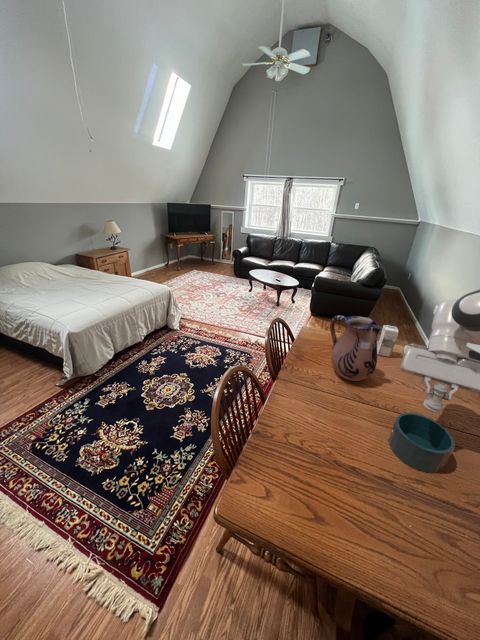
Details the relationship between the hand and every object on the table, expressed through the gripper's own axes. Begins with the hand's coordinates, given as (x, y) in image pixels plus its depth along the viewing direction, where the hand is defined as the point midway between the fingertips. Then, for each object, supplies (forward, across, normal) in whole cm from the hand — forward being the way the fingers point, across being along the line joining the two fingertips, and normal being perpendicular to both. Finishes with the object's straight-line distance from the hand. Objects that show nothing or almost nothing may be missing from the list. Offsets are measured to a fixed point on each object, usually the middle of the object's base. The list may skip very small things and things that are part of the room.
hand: (437, 397), depth 74 cm
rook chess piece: (+3, 0, +4) cm, 5 cm away
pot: (+15, 0, +12) cm, 19 cm away
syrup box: (-26, -11, +54) cm, 61 cm away
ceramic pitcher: (-6, -25, +34) cm, 43 cm away
